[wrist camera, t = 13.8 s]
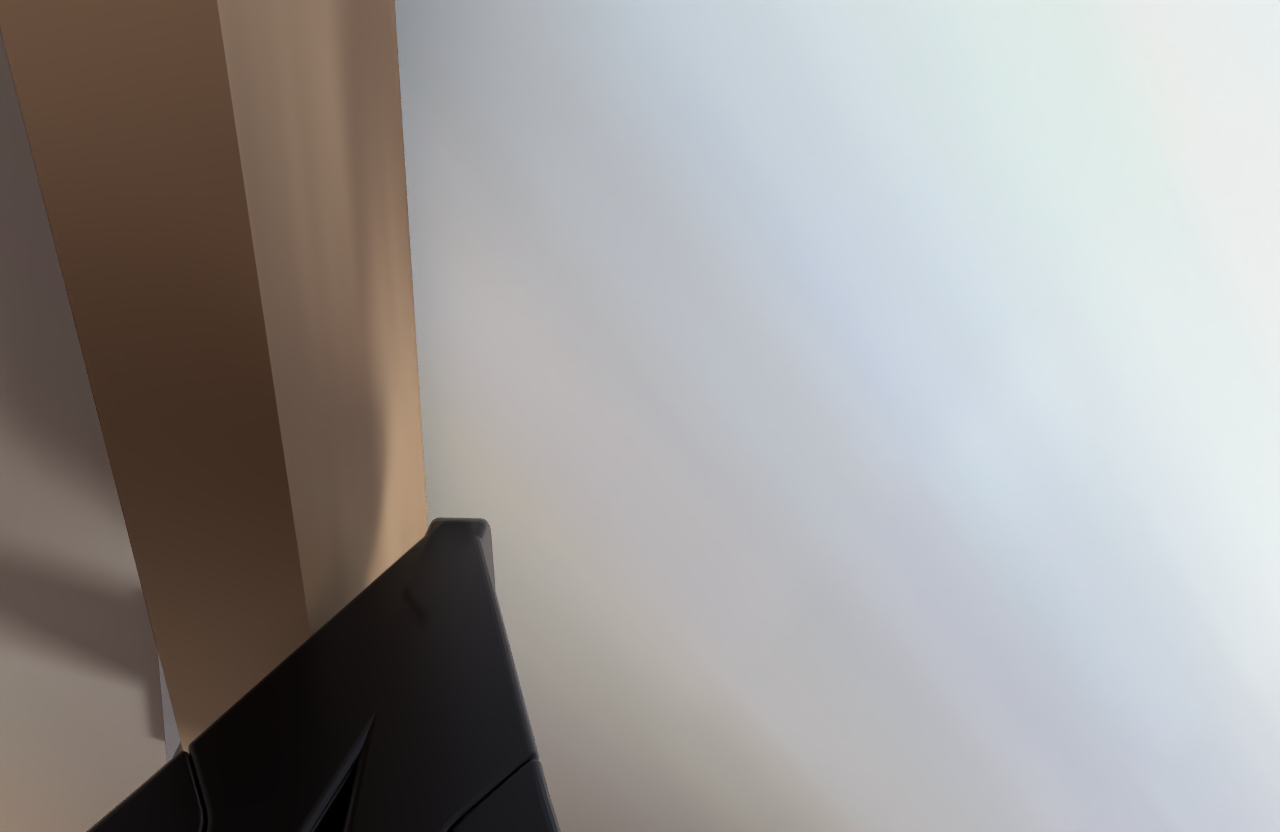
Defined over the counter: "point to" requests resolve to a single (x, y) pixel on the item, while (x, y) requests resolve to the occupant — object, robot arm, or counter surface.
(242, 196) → the gate
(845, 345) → the counter surface
